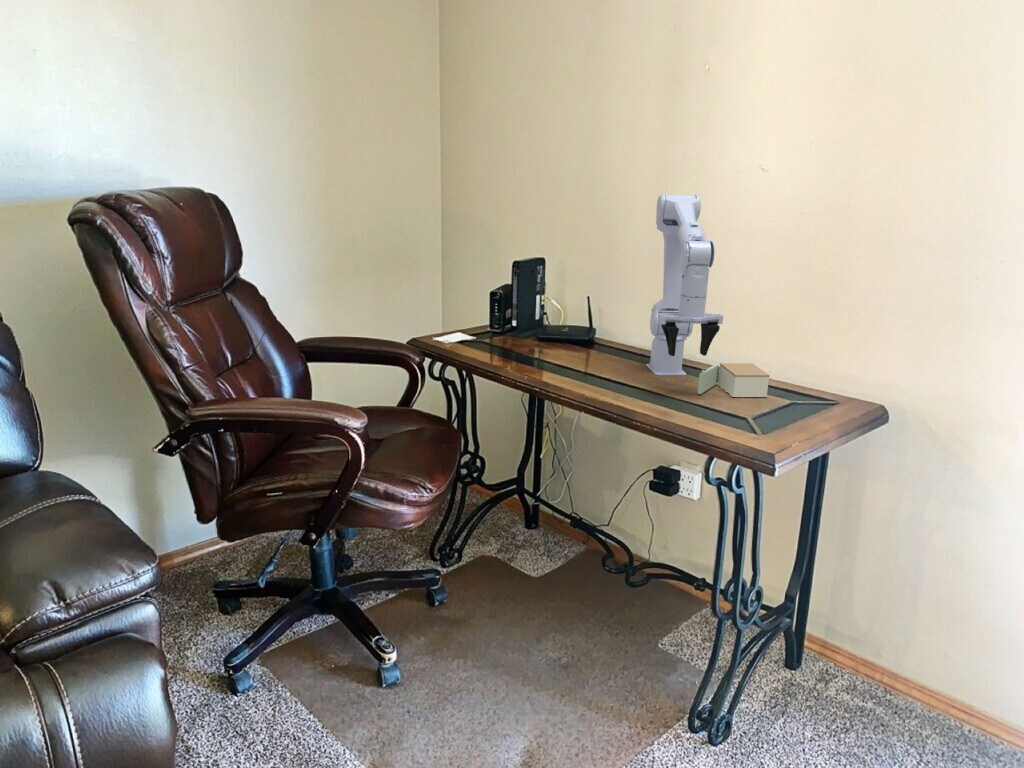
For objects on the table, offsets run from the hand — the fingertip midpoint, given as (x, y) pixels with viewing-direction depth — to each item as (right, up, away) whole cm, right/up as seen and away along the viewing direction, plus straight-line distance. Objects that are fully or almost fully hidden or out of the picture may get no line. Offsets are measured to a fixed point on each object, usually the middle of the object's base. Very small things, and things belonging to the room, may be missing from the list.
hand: (687, 354), depth 179 cm
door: (+6, -8, +7) cm, 12 cm away
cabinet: (+14, -8, +7) cm, 18 cm away
